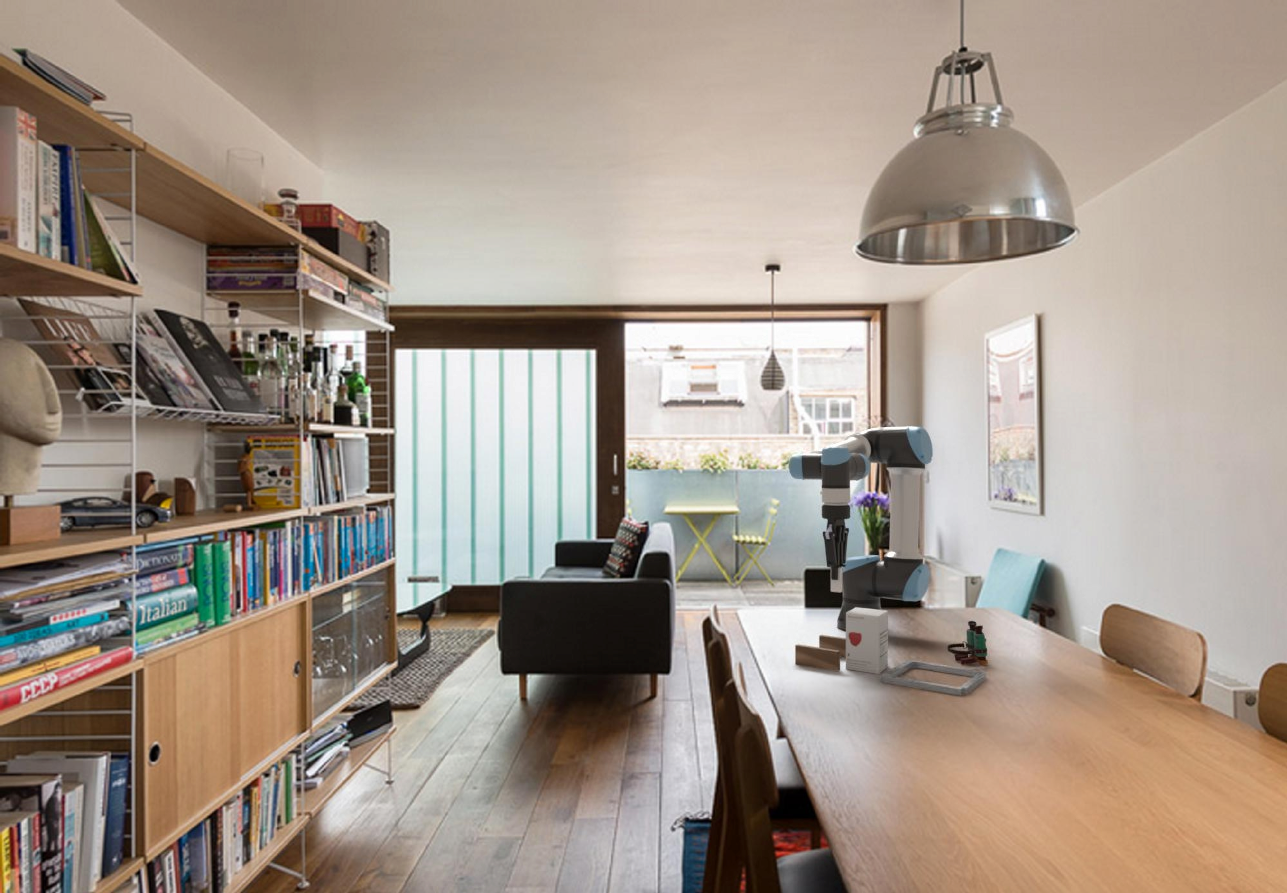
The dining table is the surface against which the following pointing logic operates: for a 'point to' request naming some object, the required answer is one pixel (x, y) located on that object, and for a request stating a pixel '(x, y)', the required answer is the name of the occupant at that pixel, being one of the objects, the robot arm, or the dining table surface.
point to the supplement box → (867, 640)
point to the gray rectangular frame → (964, 689)
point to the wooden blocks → (822, 653)
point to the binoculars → (972, 646)
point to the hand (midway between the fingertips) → (836, 591)
